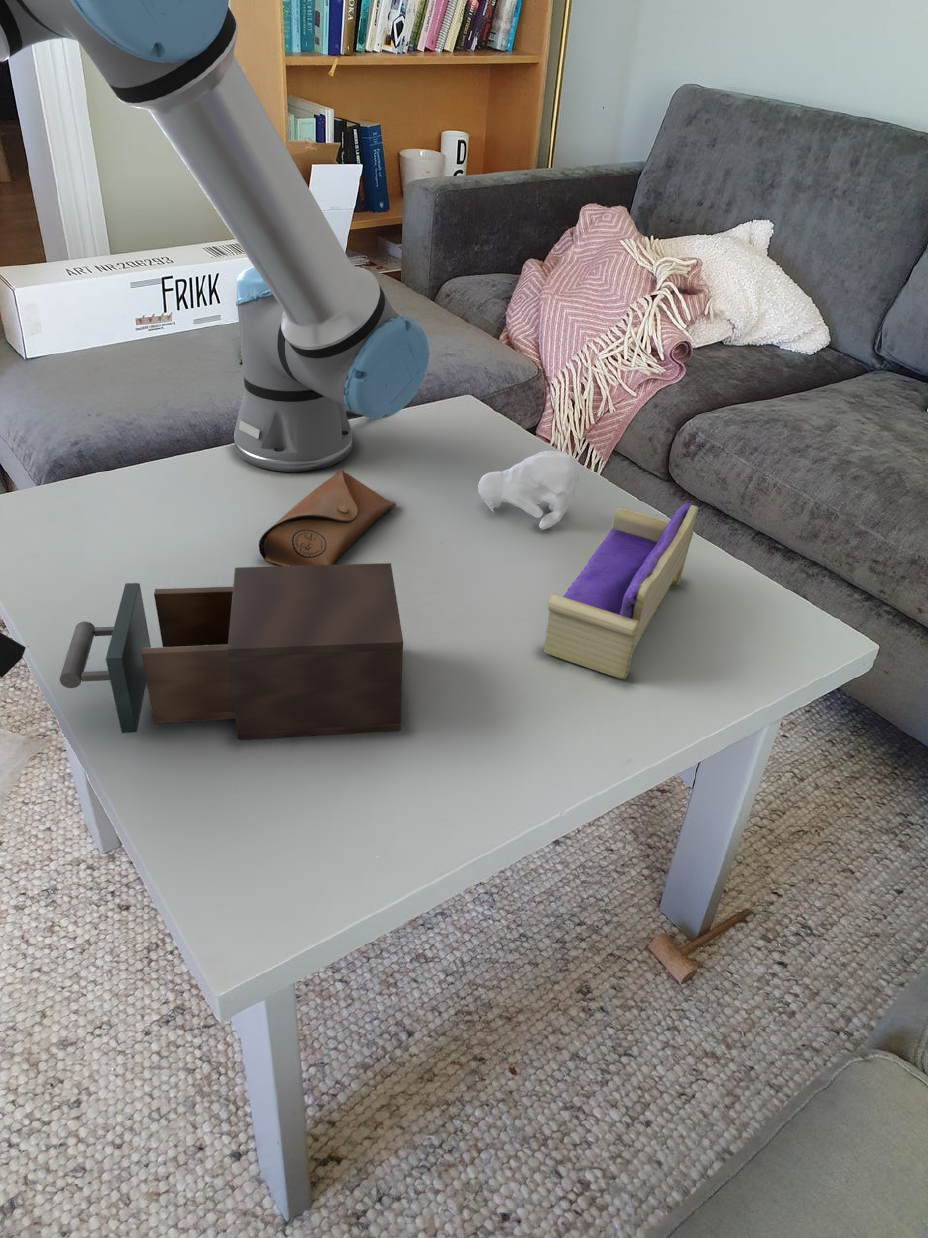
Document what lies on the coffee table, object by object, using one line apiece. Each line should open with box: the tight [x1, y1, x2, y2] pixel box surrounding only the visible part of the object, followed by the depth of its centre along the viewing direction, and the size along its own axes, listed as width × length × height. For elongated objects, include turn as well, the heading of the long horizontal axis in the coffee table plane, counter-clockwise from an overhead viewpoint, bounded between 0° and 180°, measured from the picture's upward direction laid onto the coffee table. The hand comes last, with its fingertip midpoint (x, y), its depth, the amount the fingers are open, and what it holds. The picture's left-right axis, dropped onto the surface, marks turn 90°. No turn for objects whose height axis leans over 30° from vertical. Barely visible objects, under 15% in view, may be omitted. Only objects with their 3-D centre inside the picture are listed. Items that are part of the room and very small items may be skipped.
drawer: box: [58, 582, 236, 734], centre depth 77 cm, size 17×10×8 cm, turn 99°
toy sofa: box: [543, 503, 699, 680], centre depth 91 cm, size 21×9×10 cm, turn 154°
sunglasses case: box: [258, 467, 397, 566], centre depth 103 cm, size 18×7×7 cm
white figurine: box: [477, 450, 580, 531], centre depth 108 cm, size 6×8×12 cm
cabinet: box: [228, 562, 404, 740], centre depth 79 cm, size 14×12×10 cm
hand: (13, 662), depth 75 cm, fingers closed
